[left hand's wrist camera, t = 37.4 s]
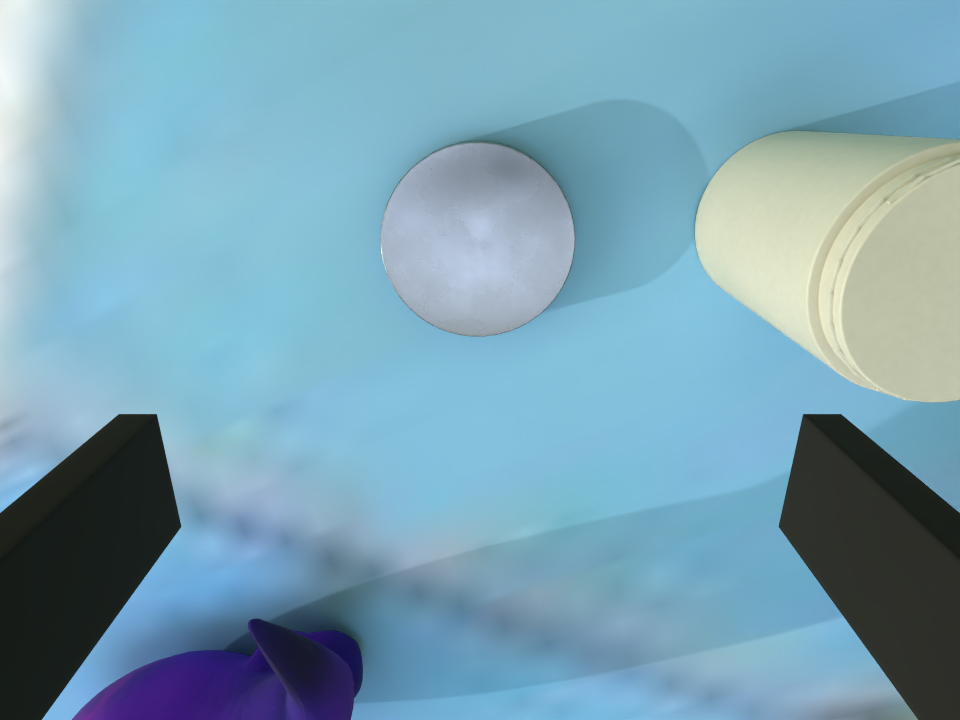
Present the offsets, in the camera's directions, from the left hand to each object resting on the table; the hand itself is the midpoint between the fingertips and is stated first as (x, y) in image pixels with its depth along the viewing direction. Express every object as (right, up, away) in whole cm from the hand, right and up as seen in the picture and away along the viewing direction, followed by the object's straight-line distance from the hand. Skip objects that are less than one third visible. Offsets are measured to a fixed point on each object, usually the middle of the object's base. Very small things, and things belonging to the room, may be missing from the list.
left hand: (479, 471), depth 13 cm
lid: (0, +9, +23) cm, 24 cm away
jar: (+18, +11, +24) cm, 31 cm away
